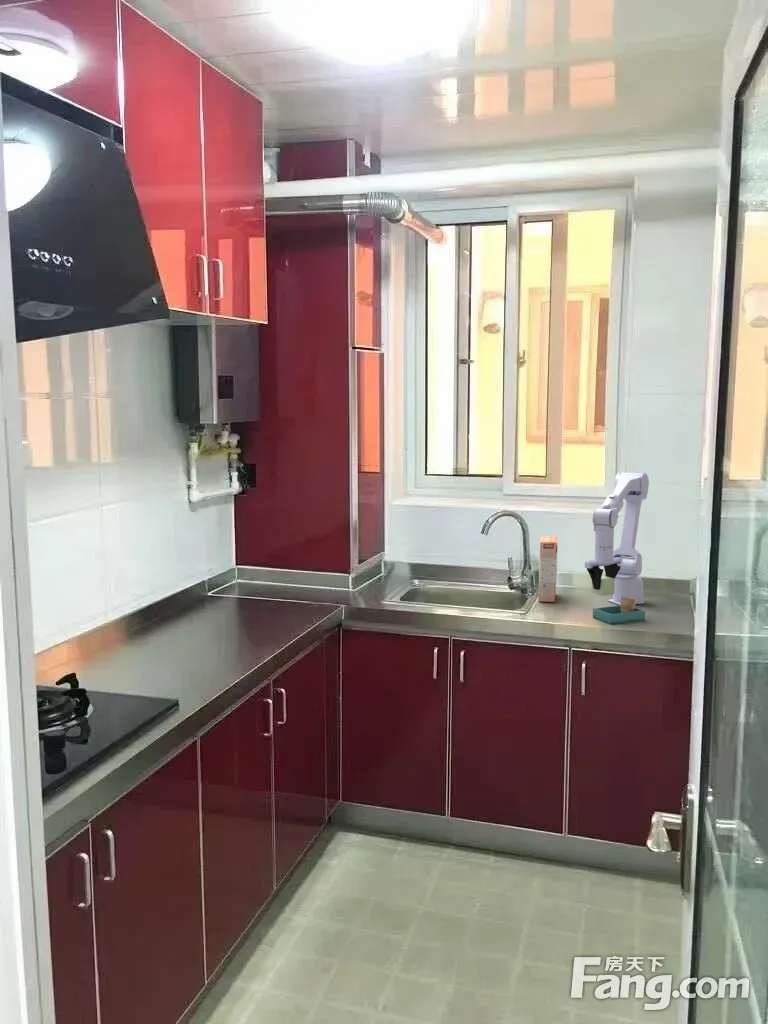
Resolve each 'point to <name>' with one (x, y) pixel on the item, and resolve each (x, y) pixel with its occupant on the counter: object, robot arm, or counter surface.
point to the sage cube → (605, 586)
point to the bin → (617, 615)
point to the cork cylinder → (627, 604)
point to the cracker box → (548, 569)
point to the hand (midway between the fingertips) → (603, 588)
